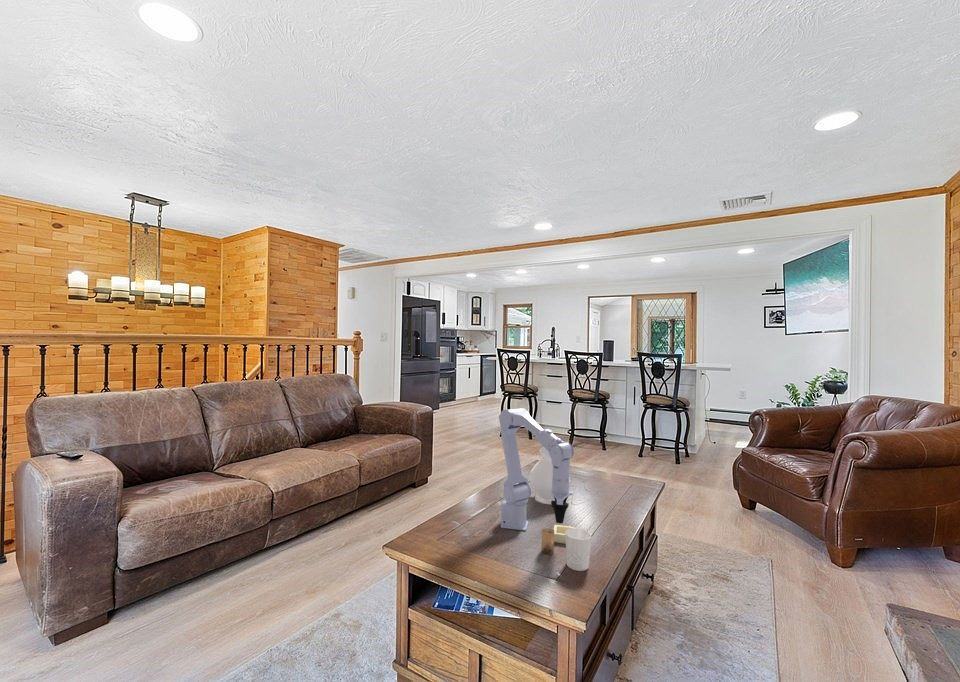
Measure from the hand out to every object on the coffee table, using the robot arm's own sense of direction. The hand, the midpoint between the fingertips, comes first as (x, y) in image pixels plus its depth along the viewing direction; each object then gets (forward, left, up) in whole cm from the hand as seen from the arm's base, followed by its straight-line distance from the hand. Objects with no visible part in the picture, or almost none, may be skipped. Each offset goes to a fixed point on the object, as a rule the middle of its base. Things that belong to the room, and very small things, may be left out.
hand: (559, 518), depth 146 cm
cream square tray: (+1, +7, -10) cm, 12 cm away
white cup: (+6, -11, -10) cm, 16 cm away
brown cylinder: (-3, -4, -10) cm, 11 cm away
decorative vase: (-7, +44, -10) cm, 46 cm away
